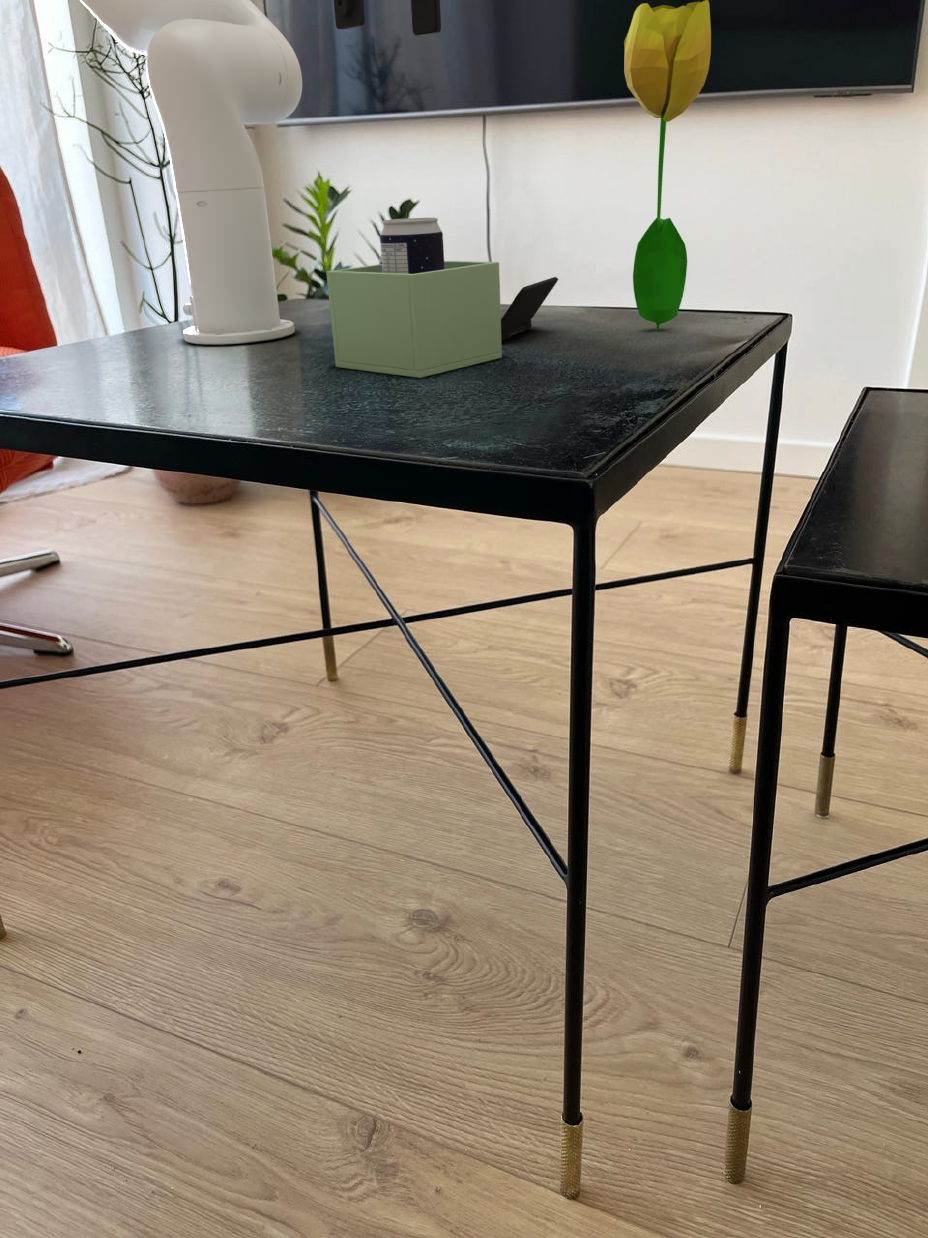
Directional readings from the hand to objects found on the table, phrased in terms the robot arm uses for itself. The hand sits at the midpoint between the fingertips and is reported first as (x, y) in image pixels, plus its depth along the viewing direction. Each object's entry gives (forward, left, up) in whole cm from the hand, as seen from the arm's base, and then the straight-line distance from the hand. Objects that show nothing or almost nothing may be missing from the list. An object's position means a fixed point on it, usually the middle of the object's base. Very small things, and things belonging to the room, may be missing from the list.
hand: (390, 30), depth 90 cm
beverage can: (+7, -6, -28) cm, 29 cm away
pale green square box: (+7, -6, -28) cm, 30 cm away
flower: (+17, +20, -28) cm, 39 cm away
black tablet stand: (+4, +10, -28) cm, 30 cm away
